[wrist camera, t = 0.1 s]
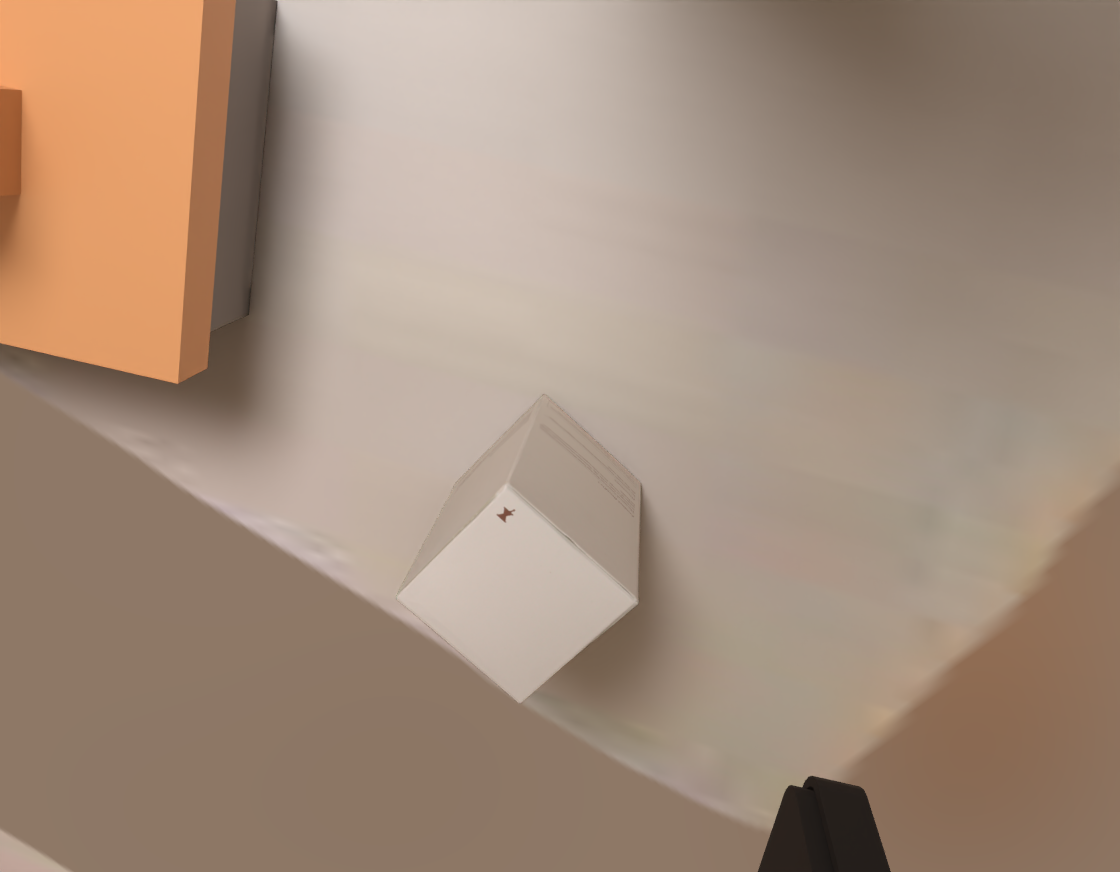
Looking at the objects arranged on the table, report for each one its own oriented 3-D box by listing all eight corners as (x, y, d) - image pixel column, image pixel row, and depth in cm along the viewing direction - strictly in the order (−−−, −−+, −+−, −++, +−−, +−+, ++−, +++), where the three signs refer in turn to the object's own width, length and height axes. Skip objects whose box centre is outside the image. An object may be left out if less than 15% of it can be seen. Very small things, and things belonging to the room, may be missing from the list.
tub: (-135, -88, 43) (-304, -135, 35) (277, 1, 42) (194, -27, 35) (-121, 231, 48) (-267, 249, 40) (248, 314, 47) (170, 349, 40)
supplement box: (451, 482, 49) (385, 596, 37) (545, 389, 47) (508, 477, 35) (550, 573, 50) (517, 711, 38) (647, 485, 48) (644, 603, 36)
